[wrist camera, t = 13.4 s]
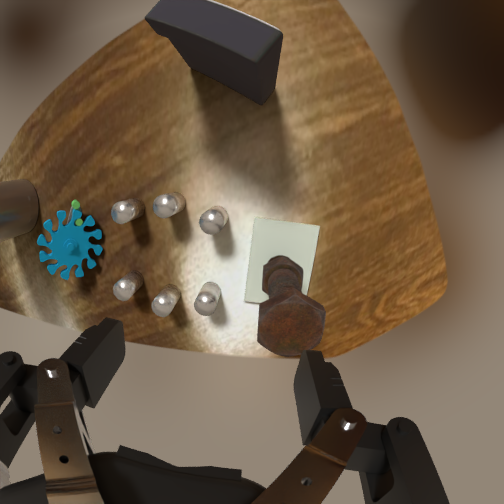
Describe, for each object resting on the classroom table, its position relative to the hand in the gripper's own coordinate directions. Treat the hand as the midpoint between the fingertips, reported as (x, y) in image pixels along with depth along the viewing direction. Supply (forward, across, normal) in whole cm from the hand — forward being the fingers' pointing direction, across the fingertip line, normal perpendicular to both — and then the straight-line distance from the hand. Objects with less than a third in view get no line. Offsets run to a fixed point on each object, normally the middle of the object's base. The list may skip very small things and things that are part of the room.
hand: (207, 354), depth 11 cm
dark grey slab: (+24, +4, -20) cm, 32 cm away
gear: (+25, +22, +3) cm, 34 cm away
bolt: (+24, -6, +3) cm, 24 cm away
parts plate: (+24, -6, +3) cm, 25 cm away
